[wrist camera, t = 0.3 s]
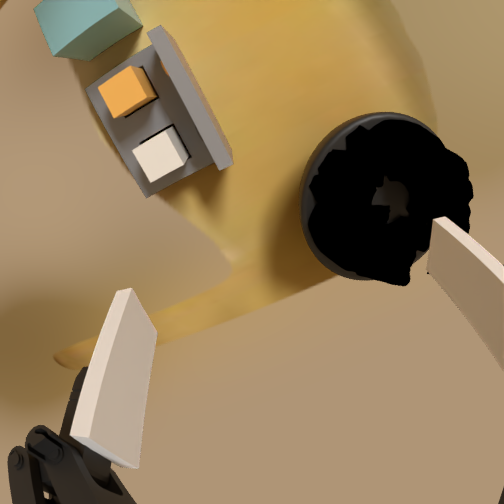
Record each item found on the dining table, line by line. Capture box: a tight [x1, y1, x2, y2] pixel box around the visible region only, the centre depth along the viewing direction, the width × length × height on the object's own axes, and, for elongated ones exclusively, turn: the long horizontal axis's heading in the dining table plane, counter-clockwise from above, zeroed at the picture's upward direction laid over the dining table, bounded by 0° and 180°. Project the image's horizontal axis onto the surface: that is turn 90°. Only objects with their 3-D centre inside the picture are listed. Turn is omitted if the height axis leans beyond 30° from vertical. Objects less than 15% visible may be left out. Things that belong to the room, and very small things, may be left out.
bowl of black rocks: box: [299, 112, 473, 286], centre depth 29 cm, size 20×20×19 cm
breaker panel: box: [85, 25, 233, 198], centre depth 27 cm, size 16×12×8 cm
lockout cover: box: [34, 0, 143, 61], centre depth 19 cm, size 8×8×9 cm
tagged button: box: [98, 66, 158, 118], centre depth 25 cm, size 4×4×5 cm
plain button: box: [132, 126, 189, 182], centre depth 29 cm, size 4×4×5 cm
